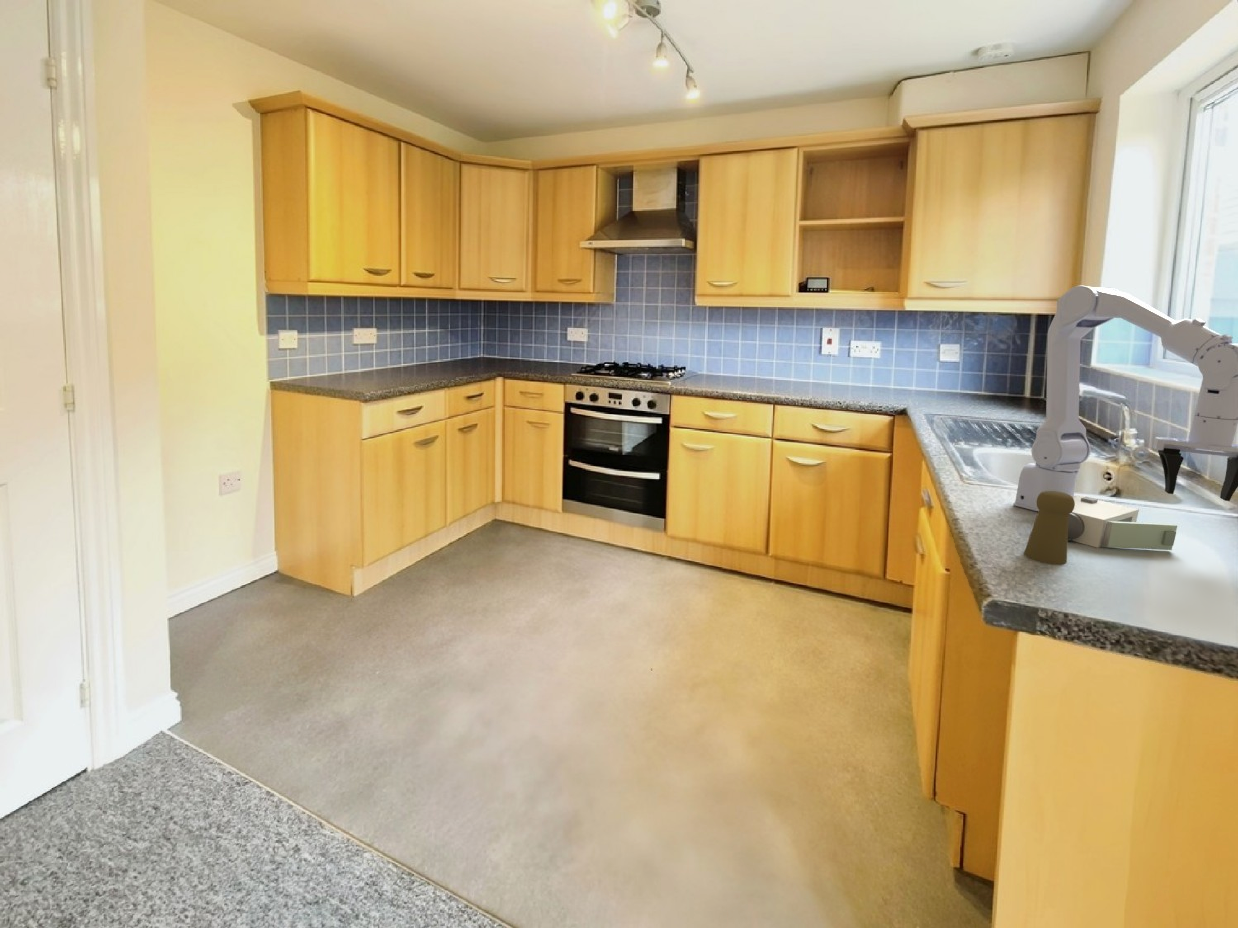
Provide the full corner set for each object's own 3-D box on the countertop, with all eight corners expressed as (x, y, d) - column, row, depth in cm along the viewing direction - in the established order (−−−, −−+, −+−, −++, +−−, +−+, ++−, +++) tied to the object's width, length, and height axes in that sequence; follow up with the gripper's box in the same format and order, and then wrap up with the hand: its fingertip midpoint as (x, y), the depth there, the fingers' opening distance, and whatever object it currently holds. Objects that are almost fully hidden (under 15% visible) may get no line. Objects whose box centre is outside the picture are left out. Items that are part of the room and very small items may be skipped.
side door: (1100, 545, 120) (1105, 520, 119) (1167, 548, 119) (1173, 524, 118) (1106, 548, 118) (1111, 523, 117) (1174, 551, 118) (1180, 526, 117)
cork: (1027, 548, 117) (1039, 485, 115) (1069, 557, 114) (1082, 492, 111) (1020, 557, 113) (1032, 492, 110) (1063, 567, 109) (1077, 499, 107)
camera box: (1033, 532, 126) (1038, 502, 125) (1074, 520, 135) (1079, 492, 134) (1093, 549, 118) (1100, 517, 117) (1133, 535, 127) (1139, 506, 126)
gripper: (1169, 415, 114) (1151, 494, 117) (1283, 425, 108) (1260, 508, 112) (1157, 410, 120) (1140, 485, 124) (1264, 419, 115) (1243, 498, 118)
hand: (1196, 496), depth 118 cm, fingers open, 7 cm apart
